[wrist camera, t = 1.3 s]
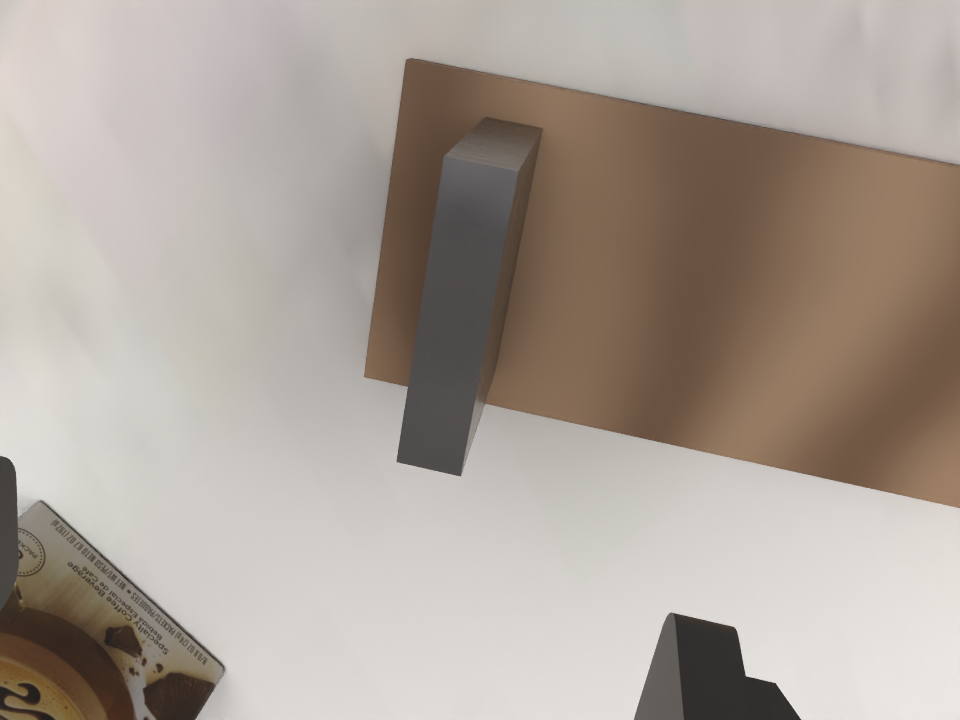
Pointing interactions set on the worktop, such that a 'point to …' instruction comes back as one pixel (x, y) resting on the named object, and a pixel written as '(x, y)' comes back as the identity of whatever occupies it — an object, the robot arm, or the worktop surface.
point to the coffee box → (90, 638)
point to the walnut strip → (667, 283)
